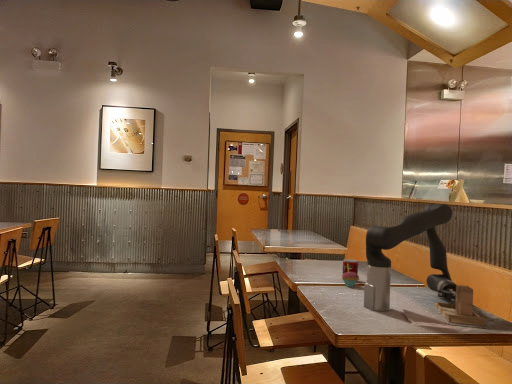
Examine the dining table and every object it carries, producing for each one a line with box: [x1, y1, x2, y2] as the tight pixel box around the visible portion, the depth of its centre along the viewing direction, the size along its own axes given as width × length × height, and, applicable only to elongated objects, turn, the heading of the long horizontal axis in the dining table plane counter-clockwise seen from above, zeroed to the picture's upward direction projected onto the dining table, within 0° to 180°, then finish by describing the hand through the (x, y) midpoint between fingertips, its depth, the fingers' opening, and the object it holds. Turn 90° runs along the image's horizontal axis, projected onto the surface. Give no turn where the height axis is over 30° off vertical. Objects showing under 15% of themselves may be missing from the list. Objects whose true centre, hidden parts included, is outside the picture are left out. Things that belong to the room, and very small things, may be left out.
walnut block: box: [455, 284, 474, 316], centre depth 141 cm, size 6×4×12 cm, turn 167°
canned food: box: [342, 258, 359, 281], centre depth 210 cm, size 8×8×11 cm
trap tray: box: [434, 301, 487, 330], centre depth 148 cm, size 22×12×4 cm, turn 167°
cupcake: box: [341, 263, 360, 288], centre depth 196 cm, size 9×8×12 cm
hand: (461, 300), depth 144 cm, fingers closed
